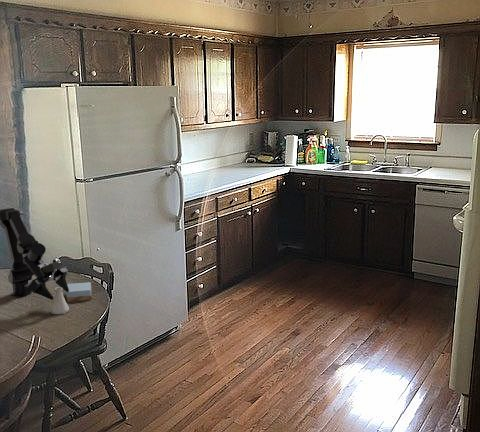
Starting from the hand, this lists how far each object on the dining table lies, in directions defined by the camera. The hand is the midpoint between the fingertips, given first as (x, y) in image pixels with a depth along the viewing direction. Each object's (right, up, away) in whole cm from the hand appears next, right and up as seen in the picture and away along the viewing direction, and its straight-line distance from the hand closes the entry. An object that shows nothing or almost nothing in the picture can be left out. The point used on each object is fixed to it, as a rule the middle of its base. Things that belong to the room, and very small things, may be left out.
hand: (60, 295), depth 218 cm
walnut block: (+2, -4, +18) cm, 18 cm away
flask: (-1, -7, +2) cm, 7 cm away
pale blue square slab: (+2, -1, +18) cm, 18 cm away
